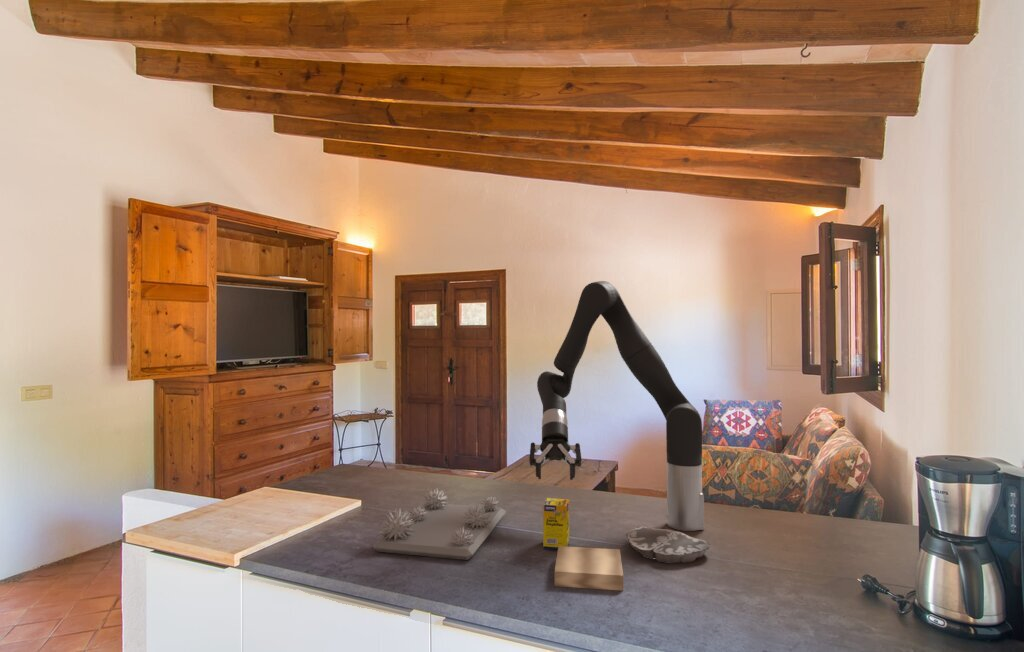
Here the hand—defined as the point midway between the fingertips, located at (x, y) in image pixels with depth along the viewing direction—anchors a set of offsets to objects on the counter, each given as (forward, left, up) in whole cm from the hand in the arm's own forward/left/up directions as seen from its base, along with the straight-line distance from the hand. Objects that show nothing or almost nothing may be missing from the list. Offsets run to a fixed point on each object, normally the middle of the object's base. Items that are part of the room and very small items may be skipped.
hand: (555, 478), depth 144 cm
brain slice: (-27, +10, -15) cm, 32 cm away
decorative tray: (+29, +5, -15) cm, 33 cm away
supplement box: (-1, +10, -14) cm, 18 cm away
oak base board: (-9, +25, -14) cm, 30 cm away
